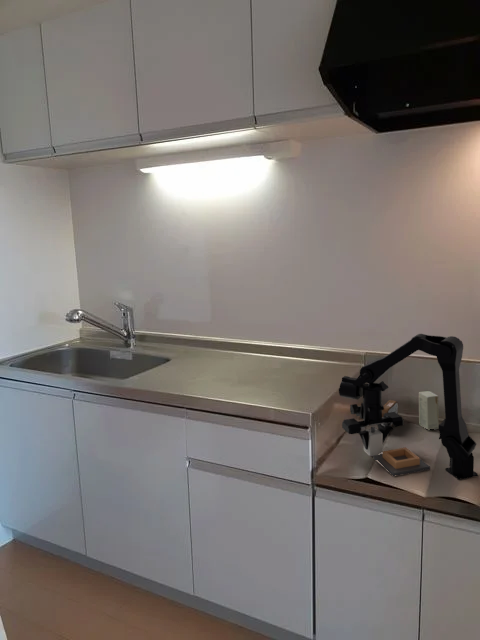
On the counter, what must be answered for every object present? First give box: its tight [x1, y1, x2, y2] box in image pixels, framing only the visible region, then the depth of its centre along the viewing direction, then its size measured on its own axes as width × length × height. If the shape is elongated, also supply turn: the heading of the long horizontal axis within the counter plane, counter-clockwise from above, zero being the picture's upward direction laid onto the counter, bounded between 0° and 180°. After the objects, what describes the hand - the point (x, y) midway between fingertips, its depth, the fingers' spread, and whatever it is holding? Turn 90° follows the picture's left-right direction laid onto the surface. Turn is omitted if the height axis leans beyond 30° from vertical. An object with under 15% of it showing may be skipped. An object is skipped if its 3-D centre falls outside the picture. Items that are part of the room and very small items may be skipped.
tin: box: [382, 399, 399, 427], centre depth 185 cm, size 15×3×8 cm, turn 146°
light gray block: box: [363, 426, 384, 457], centre depth 166 cm, size 4×4×8 cm
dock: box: [372, 447, 431, 477], centre depth 158 cm, size 12×12×3 cm
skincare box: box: [418, 390, 440, 431], centre depth 182 cm, size 6×4×12 cm
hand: (373, 447), depth 166 cm, fingers closed on light gray block, 4 cm apart
